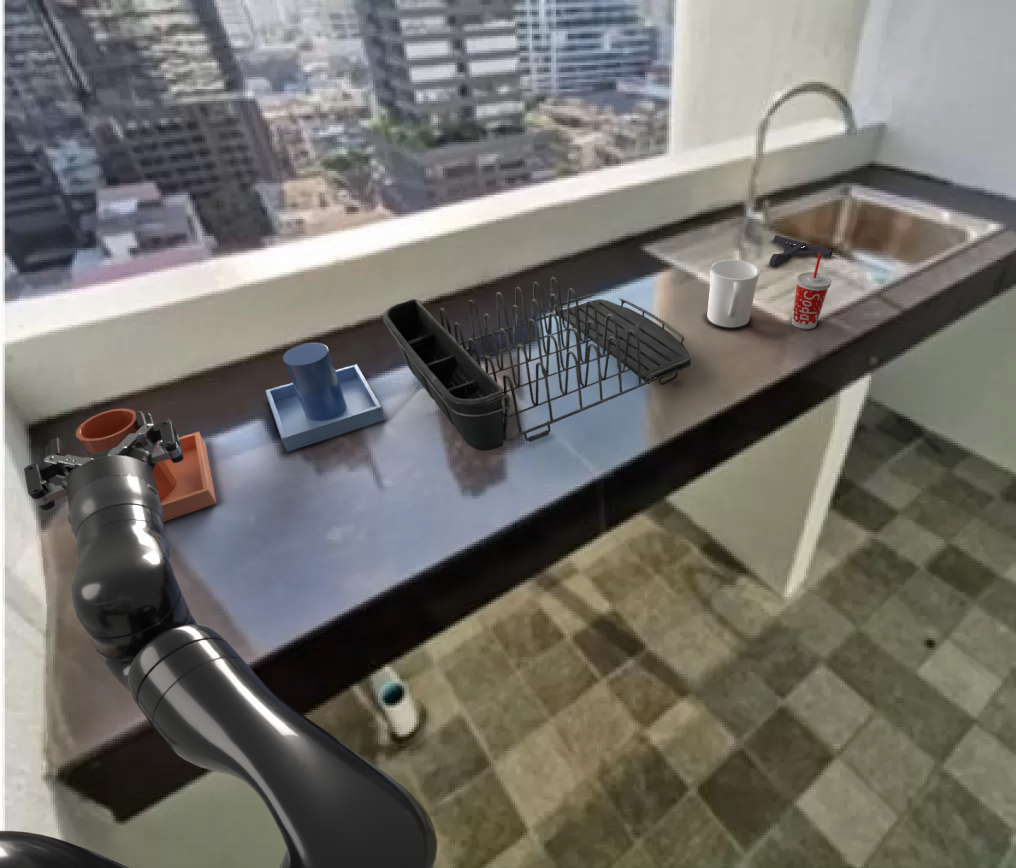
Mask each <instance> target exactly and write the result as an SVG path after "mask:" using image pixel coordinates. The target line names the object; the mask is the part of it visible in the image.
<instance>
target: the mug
mask: <svg viewBox="0 0 1016 868" xmlns="http://www.w3.org/2000/svg"><path fill="white" fill-rule="evenodd" d="M760 271H761V270H760V268H759V266H757V265H756V264H754V263H752V262H750V261H747V260H742V259H722V260H718V261H715V262H713V263H712V264H711V265H710V270H709V291H708V294H709V295H708V304H707V311H706V312H707V315H706V319H707V321H708V323H709V324H710V325H711V326H713V327H716V328H718V329H722V330H728V331H731V330H732V331H733V330H735V331H736V330H741V329H743V328H745V327H746V326H747V325H748V324H749V323H750V320H751V319H750V318H751V313H752V309H753V303H754V298H755V294H756V288H757V284H758V281H759V277H760V273H761V272H760Z"/></svg>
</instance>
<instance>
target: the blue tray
mask: <svg viewBox="0 0 1016 868" xmlns="http://www.w3.org/2000/svg"><path fill="white" fill-rule="evenodd" d="M335 370H336V373H337V376H338V379H339V382H340V385H341V388H342V391H343V394H344V397H345V400H346V403H347V406H346V409H345V410H344V411H343V412H342V413H341V414H340V415H338V416H336V417H334V418H332V419H328V420H323V421H314V420H311V419H308V418H307V417H306V416H305V414H304V411H303V408H302V406H301V403H300V401H299V398H298V396H297V393H296V391H295V388H294V386H293V383H292V382H290V383H287V384H283V385H279V386H275V387H273V388H269V389H266V390H265V394H266V397H267V400H268V403H269V406H270V409H271V413H272V415H273V417H274V421H275V424H276V427H277V429H278V430H277V431H278V433H279V435H280V439H281V441H282V443H283V446H284V448H285V449H286V450H285V451H286V452H287V453H288V452H292V451H295V450H298V449H301V448H305V447H307V446H310V445H313V444H316V443H319V442H322V441H326V440H329V439H331V438H334V437H337V436H341V435H344V434H346V433H351V432H353V431H356V430H358V429H359V430H360V429H362V428H365V427H369V426H371V425H374V424H376V423H380V422H383V421H385V420H386V417H385V414H384V411H383V408H382V406H381V404H380V402H379V400H378V398H377V397H376V395H375V394H374V392H373V389H372V388H371V386H370V385H369V382H368V381H367V379H366V377H365V375H364V374H363V373H362V370H361V369H360V367H359V365H358V364H357V363H356V364H352V365H349V366H345V367H343V368H338V369H335Z"/></svg>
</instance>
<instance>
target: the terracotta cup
mask: <svg viewBox="0 0 1016 868" xmlns="http://www.w3.org/2000/svg"><path fill="white" fill-rule="evenodd" d="M135 413H137V411H135V410H133V409H131V408H130V409H129V408H115V409H109V410H106V411H103V412H100V413H97V414H95V415H93V416H91V417H89V418H88V419H86V420H85V421H83V422H82V423H81V424H80V425H79V426H78V428H76V430H75V437H76V438H77V440H78V441H79V443H80V444H81V445H82V447H83V448H84V449H85V451H86V452H87V453H88V455H90V454H93V453H97V452H101V451H104V450H106V449H109V448H111V447H114V446H117V445H119V444H120V443H121V442H122V441H123V440H124V439H125V438H126V437H127V436H128V435H129V434H135V433H136V432H137V431H138V430H139V429H140V428H139V425H138V422H137V418H136V414H135ZM146 441H148V440H147V439H146ZM157 447H158V446H157ZM157 447H156V448H155V449H154V452H155V451H156V450H157ZM133 448H135V447H134V446H133ZM153 474H154V477H155V481H156V485H157V488H158V492H159V496H160V499H161V498H163V497H164V496H166V495H167V494H169V493H170V492H171V491H172V490H173V489H174V487H175V486H176V483H177V478H176V476H175V474H174V472H173V470H172V469H171V467H170V466H169V464H168V462H167V461H166V460H164V461H161V462H158V463H156V466H155V468H154V469H153Z"/></svg>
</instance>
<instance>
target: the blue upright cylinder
mask: <svg viewBox="0 0 1016 868" xmlns="http://www.w3.org/2000/svg"><path fill="white" fill-rule="evenodd" d="M282 360H283V363H284V365H285V368H286V371H287V373H288V376H289V378H290V381H291V383H293V386H294V388H295V391H296V393H297V396H298V398H299V401H300V403H301V406H302V408H303V411H304V414H305V416H306V417H307V418H308V419H311V420H314V421H323V420H328V419H332V418H334V417H336V416H338V415H340V414H341V413H342V412H343V411H344V410H345V409H346V406H347V403H346V400H345V397H344V394H343V391H342V388H341V385H340V382H339V379H338V376H337V373H336V370H337V369H336V368H335V365H334V362H333V359H332V356H331V352H330V351H329V348H328V346H327V345H325V344H323V343H319V342H309V343H308V342H307V343H302V344H298V345H296V346H294V347H292V348H290V349H288V350H287V351H286V352H284V355H283V357H282Z"/></svg>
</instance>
